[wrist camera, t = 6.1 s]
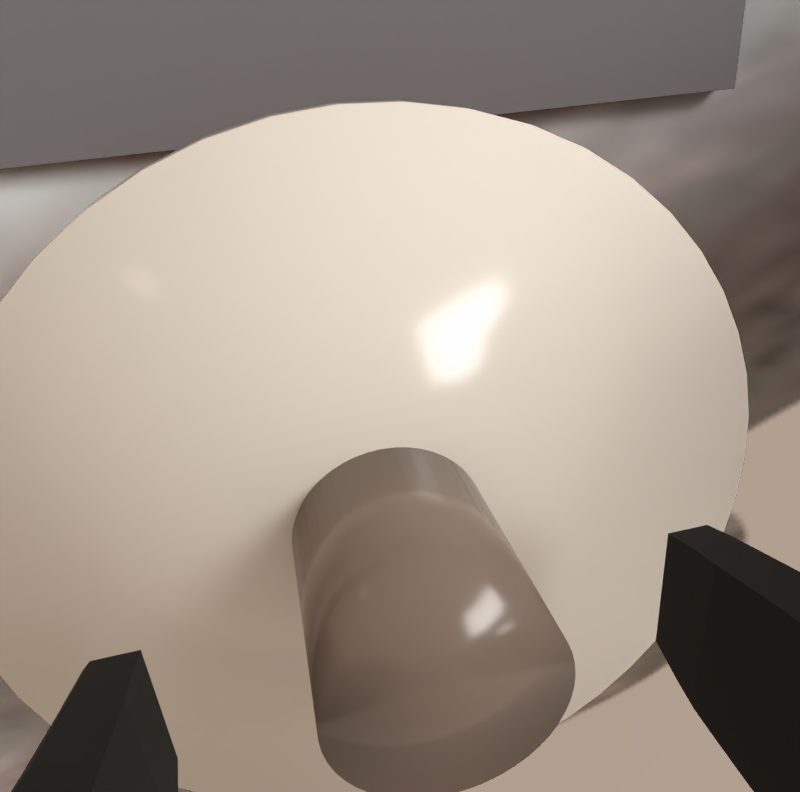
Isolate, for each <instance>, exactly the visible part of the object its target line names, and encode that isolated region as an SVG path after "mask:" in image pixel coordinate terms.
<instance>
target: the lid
mask: <svg viewBox="0 0 800 792" xmlns="http://www.w3.org/2000/svg"><path fill="white" fill-rule="evenodd" d="M748 420H749V408H748V387H747V372H746V367H745V362H744V357H743V352H742V347H741V342H740V337H739V332H738V329H737V326H736V324H735V321H734V318H733V316H732V313H731V310H730V307H729V305H728V302H727V299H726V296H725V294H724V291H723V289H722V287H721V285H720V284H719V282H718V280H717V278H716V276H715V275H714V273H713V271H712V269H711V268H710V266H709V264H708V262H707V260H706V259H705V257H704V255H703V253H702V251H701V250H700V249H699V247H698V246H697V245H696V244H695V242H694V241H693V240H692V239H691V237H690V236H689V235H688V234H687V232H686V231H685V230H684V229H683V227H682V226H681V225H680V224H679V222H678V221H677V220H676V219H675V217H674V216H673V215H672V214H671V212H670V211H669V210H667V209H666V208H665V207H664V206H663V205H662V204H661V203H660V202H659V201H657V200H656V199H655V198H654V197H653V196H652V195H651V194H650V193H648V192H647V191H646V190H645V189H644V188H643V187H642V186H641V185H640V184H638V183H637V182H636V181H635V180H634V179H633V178H632V177H630V176H629V175H627V174H625V173H624V172H622V171H621V170H619V169H618V168H616V167H614V166H613V165H611V164H610V163H608V162H607V161H605V160H604V159H602V158H600V157H599V156H597V155H596V154H594V153H593V152H591V151H589V150H588V149H586V148H584V147H582V146H580V145H577V144H575V143H573V142H570V141H568V140H566V139H563V138H561V137H559V136H557V135H554V134H552V133H550V132H547V131H545V130H543V129H540V128H538V127H536V126H534V125H530V124H527V123H523V122H519V121H515V120H511V119H507V118H504V117H500V116H496V115H492V114H488V113H484V112H481V111H477V110H473V109H468V108H463V107H458V106H448V105H439V104H430V103H420V102H411V101H401V100H386V101H361V102H336V103H328V104H323V105H317V106H312V107H307V108H301V109H296V110H290V111H285V112H280V113H274V114H269V115H265V116H262V117H259V118H256V119H254V120H251V121H248V122H245V123H242V124H239V125H236V126H233V127H230V128H227V129H224V130H221V131H218V132H215V133H212V134H209V135H206V136H203V137H202V138H200V139H198V140H196V141H194V142H192V143H190V144H188V145H186V146H184V147H182V148H180V149H178V150H176V151H174V152H172V153H170V154H168V155H166V156H164V157H162V158H160V159H158V160H156V161H154V162H152V163H150V164H148V165H146V166H144V167H143V168H141V169H140V170H139V171H137V172H136V173H134V174H133V175H131V176H130V177H129V178H127V179H126V180H124V181H123V182H121V183H120V184H119V185H117V186H116V187H114V188H113V189H112V190H110V191H109V192H107V193H106V194H104V195H103V196H102V197H100V198H99V199H97V200H96V201H94V202H93V203H92V204H90V205H89V206H88V207H87V208H86V209H85V210H84V211H83V212H82V213H81V214H80V215H79V216H78V217H77V218H76V219H74V220H73V221H72V222H71V223H70V224H69V225H68V226H67V227H66V228H65V229H64V230H63V231H62V232H61V233H60V234H59V235H58V236H57V237H56V238H55V239H54V240H52V241H51V242H50V243H49V244H48V245H47V246H46V247H45V248H44V249H43V250H42V251H41V252H40V253H39V254H38V255H37V256H36V257H35V258H34V259H33V260H32V262H31V263H30V264H29V266H28V267H27V268H26V270H25V271H24V272H23V274H22V275H21V276H20V277H19V279H18V280H17V281H16V283H15V284H14V285H13V287H12V288H11V289H10V290H9V292H8V293H7V294H6V296H5V297H4V298H3V300H2V301H1V302H0V676H1V677H2V678H3V680H4V681H5V682H6V683H7V684H8V686H9V687H10V688H11V689H12V690H13V691H14V693H15V694H16V695H17V696H18V697H19V698H20V699H21V700H22V701H23V702H24V703H25V704H26V705H28V706H29V707H30V708H31V709H32V710H33V711H34V712H36V713H37V714H38V715H39V716H40V717H41V718H42V719H44V720H45V721H46V722H47V723H48V724H49V725H50V726H51V725H52V723H53V721H54V719H55V718H56V716H57V714H58V712H59V711H60V709H61V707H62V706H63V704H64V702H65V700H66V699H67V697H68V695H69V693H70V692H71V690H72V688H73V686H74V685H75V683H76V681H77V679H78V678H79V676H80V674H81V672H82V671H83V669H84V668H85V667H86V665H87V664H88V663H89V662H90V661H92V660H97V659H101V658H106V657H111V656H115V655H120V654H124V653H129V652H133V651H138V650H141V652H142V655H143V658H144V661H145V664H146V667H147V670H148V673H149V675H150V678H151V681H152V684H153V687H154V690H155V693H156V696H157V699H158V702H159V705H160V708H161V711H162V714H163V717H164V719H165V722H166V725H167V728H168V731H169V734H170V737H171V740H172V743H173V746H174V749H175V752H176V755H177V758H178V788H181V789H186V790H190V791H194V792H459V791H463V790H466V789H469V788H472V787H475V786H477V785H479V784H482V783H484V782H487V781H489V780H491V779H493V778H495V777H496V776H499V775H500V774H502V773H504V772H506V771H507V770H509V769H510V768H512V767H514V766H515V765H517V764H518V763H519V762H521V761H522V760H524V759H525V758H526V757H528V756H529V755H530V754H531V753H532V752H533V751H535V750H536V749H537V748H538V747H539V746H540V745H541V744H542V743H543V742H544V741H545V740H546V739H547V738H548V736H549V735H550V734H551V733H552V731H553V730H554V729H555V728H556V726H557V725H558V723H560V722H562V721H563V720H565V719H567V718H568V717H570V716H571V715H572V714H574V713H575V712H576V711H578V710H579V709H580V708H582V707H583V706H584V705H586V704H587V703H588V702H590V701H591V700H592V699H594V698H595V697H596V696H598V695H599V694H600V693H602V692H603V691H604V690H605V689H606V688H607V687H608V686H610V685H611V684H612V683H613V682H614V681H615V680H616V679H617V678H619V677H620V676H621V675H622V674H623V673H624V672H625V671H627V670H628V669H629V668H630V667H631V666H632V665H633V664H634V663H635V662H636V661H637V660H638V659H639V658H640V656H641V655H642V654H643V653H644V652H645V651H646V650H647V649H648V648H649V647H650V646H651V645H652V644H653V643H654V642H655V641H656V634H657V625H658V617H659V608H660V599H661V591H662V582H663V574H664V565H665V556H666V548H667V539H668V533H672V532H677V531H681V530H686V529H691V528H695V527H700V526H704V525H709V526H711V527H713V528H715V529H717V530H719V531H721V532H724V530H725V527H726V524H727V521H728V519H729V516H730V513H731V510H732V507H733V504H734V502H735V499H736V496H737V491H738V487H739V482H740V478H741V473H742V469H743V464H744V460H745V453H746V442H747V431H748Z"/></svg>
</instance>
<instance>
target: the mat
mask: <svg viewBox="0 0 800 792" xmlns="http://www.w3.org/2000/svg"><path fill="white" fill-rule="evenodd" d="M744 8H745V0H0V169H4V168H13V167H22V166H32V165H41V164H50V163H59V162H68V161H77V160H86V159H95V158H105V157H114V156H123V155H132V154H141V153H150V152H159V151H168V150H178V149H180V148H182V147H184V146H186V145H188V144H190V143H192V142H194V141H196V140H198V139H200V138H202V137H203V136H206V135H209V134H212V133H215V132H218V131H221V130H224V129H227V128H230V127H233V126H236V125H239V124H242V123H245V122H248V121H251V120H254V119H256V118H259V117H262V116H265V115H269V114H274V113H280V112H285V111H290V110H296V109H301V108H307V107H312V106H317V105H323V104H328V103H336V102H361V101H386V100H401V101H411V102H420V103H430V104H439V105H448V106H458V107H463V108H468V109H473V110H477V111H481V112H484V113H488V114H492V115H497V114H506V113H515V112H524V111H534V110H543V109H552V108H561V107H570V106H579V105H588V104H597V103H607V102H616V101H625V100H634V99H643V98H652V97H661V96H670V95H680V94H689V93H698V92H707V91H716V90H725V89H734V88H735V80H736V72H737V64H738V56H739V48H740V40H741V32H742V24H743V16H744Z"/></svg>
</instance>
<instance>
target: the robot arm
mask: <svg viewBox="0 0 800 792" xmlns="http://www.w3.org/2000/svg"><path fill="white" fill-rule="evenodd" d="M656 642H657V643H658V645H659V647H660V649H661V651H662V653H663V655H664V656H665V658H666V660H667V662H668V664H669V666H670V668H671V669H672V671H673V673H674V675H675V677H676V679H677V680H678V682H679V684H680V685H681V687H682V689H683V691H684V692H685V694H686V696H687V698H688V699H689V701H690V703H691V704H692V706H693V708H694V709H695V711H696V712H697V713H698V715H699V716H700V718H701V719H702V721H703V722H704V723H705V725H706V726H707V728H708V729H709V731H710V732H711V733H712V735H713V736H714V737H715V739H716V740H717V742H718V743H719V744H720V746H721V747H722V749H723V750H724V751H725V753H726V754H727V755H728V757H729V758H730V760H731V761H732V763H733V764H734V765H735V767H736V768H737V769H738V771H739V772H740V773H741V775H742V776H743V777H744V779H745V780H746V782H747V783H748V784H749V786H750V787H751V788H752V790H753V791H754V792H800V572H799V571H797V570H795V569H793V568H791V567H789V566H787V565H785V564H784V563H782V562H780V561H778V560H776V559H774V558H772V557H770V556H768V555H767V554H764V553H763V552H761V551H759V550H757V549H755V548H753V547H751V546H749V545H747V544H745V543H743V542H742V541H740V540H738V539H736V538H734V537H732V536H730V535H728V534H726V533H724V532H721V531H719V530H717V529H715V528H713V527H711V526H709V525H704V526H700V527H695V528H691V529H686V530H681V531H677V532H672V533H668V539H667V548H666V556H665V565H664V574H663V582H662V591H661V599H660V608H659V617H658V625H657V634H656ZM11 792H178V758H177V755H176V752H175V749H174V746H173V743H172V740H171V737H170V734H169V731H168V728H167V725H166V722H165V719H164V717H163V714H162V711H161V708H160V705H159V702H158V699H157V696H156V693H155V690H154V687H153V684H152V681H151V678H150V675H149V673H148V670H147V667H146V664H145V661H144V658H143V655H142V652H141V650H138V651H133V652H129V653H124V654H120V655H115V656H111V657H106V658H101V659H97V660H92V661H90V662H89V663H88V664H87V665H86V667H85V668H84V669H83V671H82V672H81V674H80V676H79V678H78V679H77V681H76V683H75V685H74V686H73V688H72V690H71V692H70V693H69V695H68V697H67V699H66V700H65V702H64V704H63V706H62V707H61V709H60V711H59V712H58V714H57V716H56V718H55V719H54V721H53V723H52V725H51V726H50V728H49V730H48V731H47V733H46V735H45V737H44V738H43V740H42V742H41V743H40V745H39V747H38V748H37V750H36V752H35V753H34V755H33V757H32V759H31V760H30V762H29V764H28V765H27V767H26V769H25V770H24V772H23V774H22V775H21V777H20V779H19V780H18V782H17V783H16V785H15V787H14V788H13V790H12V791H11Z"/></svg>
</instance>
